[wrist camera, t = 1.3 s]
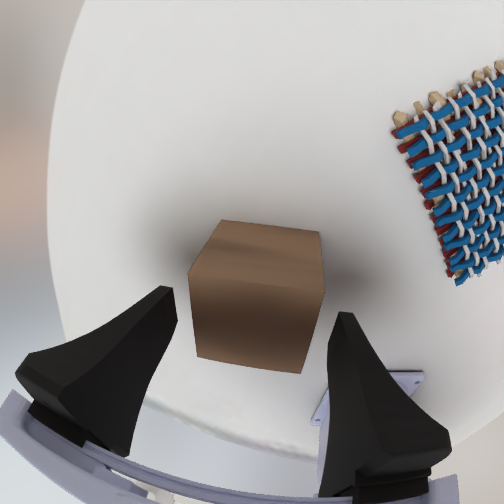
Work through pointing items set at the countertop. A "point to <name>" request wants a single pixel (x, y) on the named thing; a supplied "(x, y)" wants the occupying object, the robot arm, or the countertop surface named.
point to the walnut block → (257, 295)
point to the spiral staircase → (156, 493)
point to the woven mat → (462, 170)
